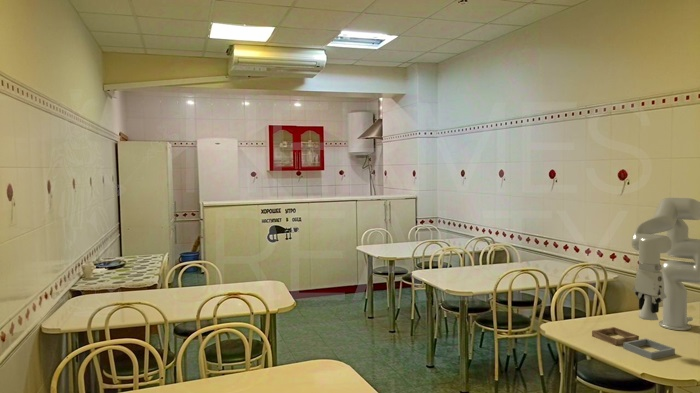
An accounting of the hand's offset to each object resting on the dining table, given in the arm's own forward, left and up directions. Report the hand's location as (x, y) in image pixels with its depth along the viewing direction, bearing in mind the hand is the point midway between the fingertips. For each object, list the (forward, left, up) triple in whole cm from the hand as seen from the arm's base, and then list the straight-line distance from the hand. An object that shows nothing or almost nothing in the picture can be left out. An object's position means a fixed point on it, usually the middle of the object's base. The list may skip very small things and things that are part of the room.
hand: (648, 310), depth 204 cm
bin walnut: (0, -16, -17) cm, 24 cm away
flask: (0, 0, -4) cm, 4 cm away
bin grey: (0, 0, -17) cm, 17 cm away
